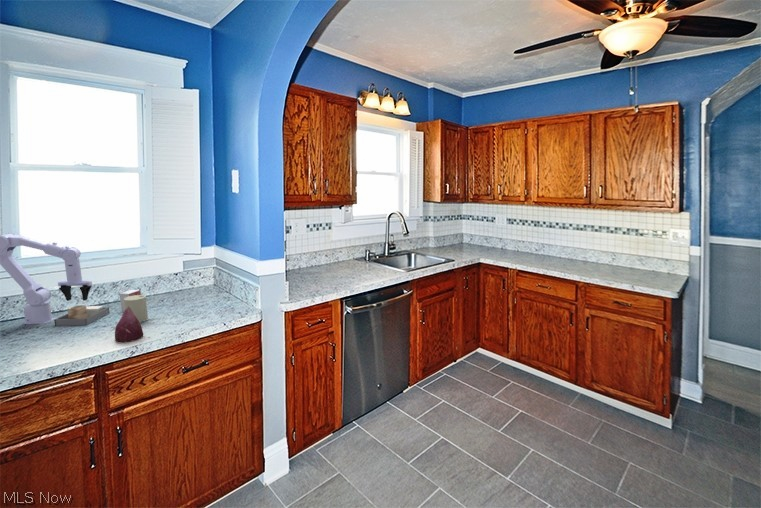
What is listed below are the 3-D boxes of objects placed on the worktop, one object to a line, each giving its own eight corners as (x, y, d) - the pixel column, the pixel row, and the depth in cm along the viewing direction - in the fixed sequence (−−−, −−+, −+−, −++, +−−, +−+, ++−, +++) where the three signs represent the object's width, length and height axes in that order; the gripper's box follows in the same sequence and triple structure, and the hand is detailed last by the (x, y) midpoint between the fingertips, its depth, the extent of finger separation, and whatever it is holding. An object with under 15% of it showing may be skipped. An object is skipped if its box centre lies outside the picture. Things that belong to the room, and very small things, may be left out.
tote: (55, 327, 184) (54, 319, 184) (80, 314, 202) (79, 307, 201) (87, 326, 185) (86, 319, 185) (109, 313, 203) (108, 307, 202)
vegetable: (124, 341, 176) (121, 307, 177) (148, 337, 177) (144, 304, 178) (109, 344, 166) (105, 309, 167) (135, 341, 167) (131, 305, 168)
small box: (130, 313, 203) (128, 293, 201) (121, 313, 204) (119, 293, 202) (142, 309, 211) (140, 289, 209) (133, 308, 212) (131, 289, 210)
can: (151, 320, 194) (148, 296, 192) (129, 325, 187) (126, 300, 185) (144, 315, 200) (142, 292, 198) (123, 320, 194) (121, 296, 191)
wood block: (69, 323, 187) (67, 309, 186) (77, 319, 193) (76, 305, 191) (79, 323, 187) (77, 309, 186) (87, 319, 193) (85, 305, 192)
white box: (76, 317, 196) (75, 309, 195) (82, 314, 201) (81, 306, 200) (98, 316, 197) (97, 308, 196) (104, 313, 201) (103, 306, 201)
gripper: (51, 275, 187) (55, 302, 190) (83, 274, 188) (87, 302, 191) (62, 271, 194) (66, 298, 197) (93, 271, 195) (96, 298, 198)
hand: (77, 300), depth 194 cm, fingers open, 7 cm apart
